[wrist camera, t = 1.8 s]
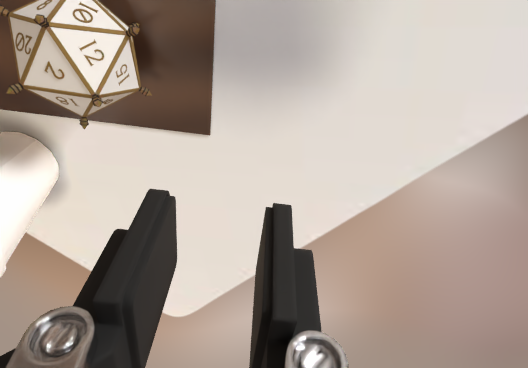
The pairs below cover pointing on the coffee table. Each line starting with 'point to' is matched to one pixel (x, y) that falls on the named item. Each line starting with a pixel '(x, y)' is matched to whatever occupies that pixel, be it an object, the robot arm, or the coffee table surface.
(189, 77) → the plate
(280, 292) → the robot arm
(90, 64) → the game die
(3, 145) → the foam cup
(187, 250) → the coffee table surface
